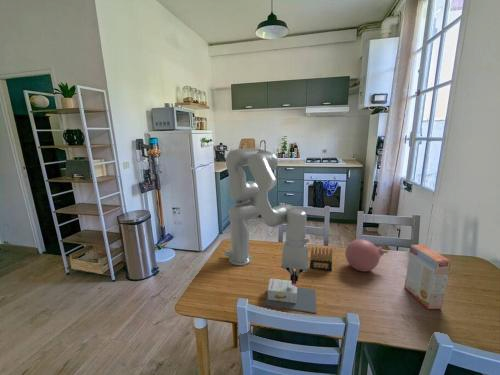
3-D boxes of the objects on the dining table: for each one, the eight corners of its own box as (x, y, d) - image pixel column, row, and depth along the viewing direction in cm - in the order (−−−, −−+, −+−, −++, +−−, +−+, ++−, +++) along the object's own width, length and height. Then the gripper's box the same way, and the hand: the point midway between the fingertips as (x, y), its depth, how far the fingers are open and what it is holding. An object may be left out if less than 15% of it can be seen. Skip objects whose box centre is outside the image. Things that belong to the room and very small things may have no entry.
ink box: (297, 291, 104) (270, 287, 107) (297, 280, 103) (270, 277, 106) (296, 304, 96) (267, 300, 99) (296, 293, 95) (267, 289, 98)
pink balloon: (393, 278, 113) (398, 248, 110) (350, 277, 114) (353, 247, 111) (378, 261, 128) (382, 234, 125) (340, 260, 129) (342, 233, 126)
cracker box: (442, 309, 93) (452, 260, 89) (427, 310, 93) (436, 261, 88) (416, 286, 107) (424, 243, 102) (403, 287, 107) (410, 244, 102)
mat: (264, 305, 96) (264, 304, 96) (269, 284, 110) (270, 283, 110) (316, 313, 92) (316, 312, 92) (315, 290, 105) (315, 289, 105)
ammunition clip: (331, 269, 121) (332, 247, 119) (331, 271, 120) (333, 249, 117) (309, 267, 123) (310, 245, 121) (309, 269, 122) (310, 247, 119)
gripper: (315, 238, 97) (312, 279, 101) (277, 235, 100) (277, 274, 104) (315, 247, 89) (313, 290, 94) (275, 243, 93) (274, 285, 97)
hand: (294, 281), depth 99 cm, fingers closed
